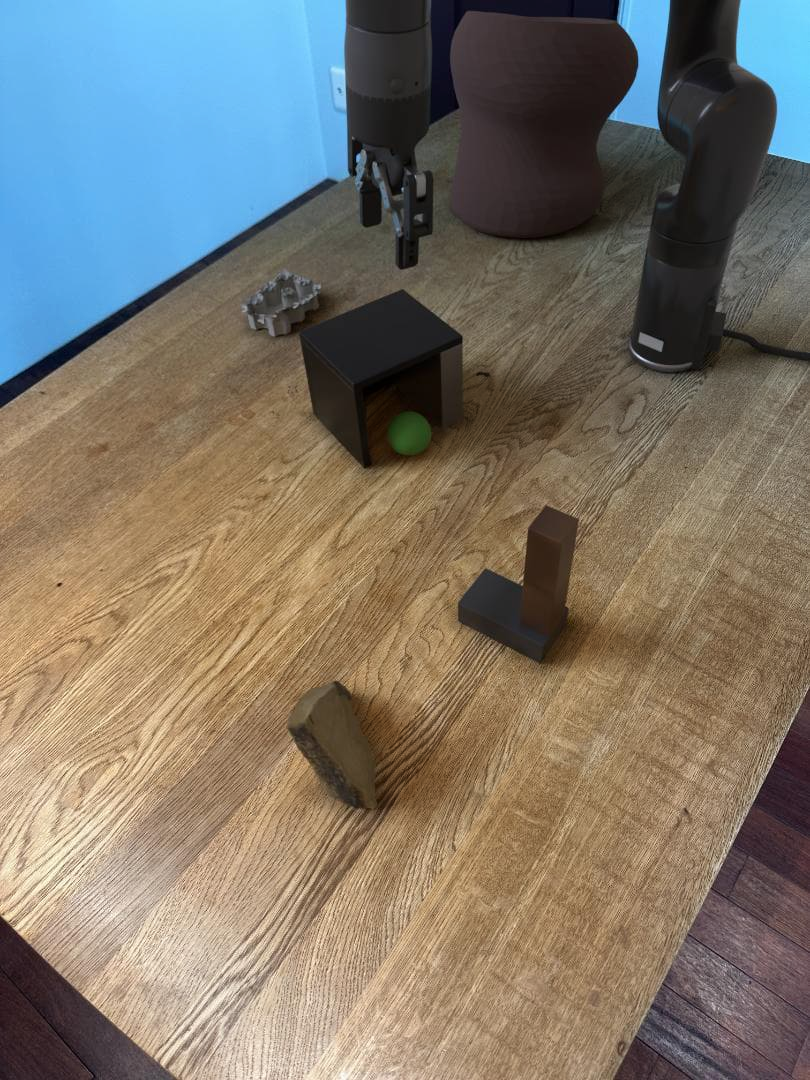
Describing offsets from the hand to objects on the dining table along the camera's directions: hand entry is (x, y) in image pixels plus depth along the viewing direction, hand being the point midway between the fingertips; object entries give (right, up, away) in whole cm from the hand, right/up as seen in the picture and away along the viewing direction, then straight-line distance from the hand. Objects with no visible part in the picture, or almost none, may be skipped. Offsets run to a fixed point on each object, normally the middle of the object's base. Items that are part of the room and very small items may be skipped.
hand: (388, 244), depth 83 cm
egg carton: (-15, +1, +32) cm, 35 cm away
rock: (-3, -48, -13) cm, 50 cm away
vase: (+22, +25, +49) cm, 59 cm away
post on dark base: (+12, -38, -6) cm, 41 cm away
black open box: (0, -15, +15) cm, 22 cm away
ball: (+2, -18, +9) cm, 21 cm away
